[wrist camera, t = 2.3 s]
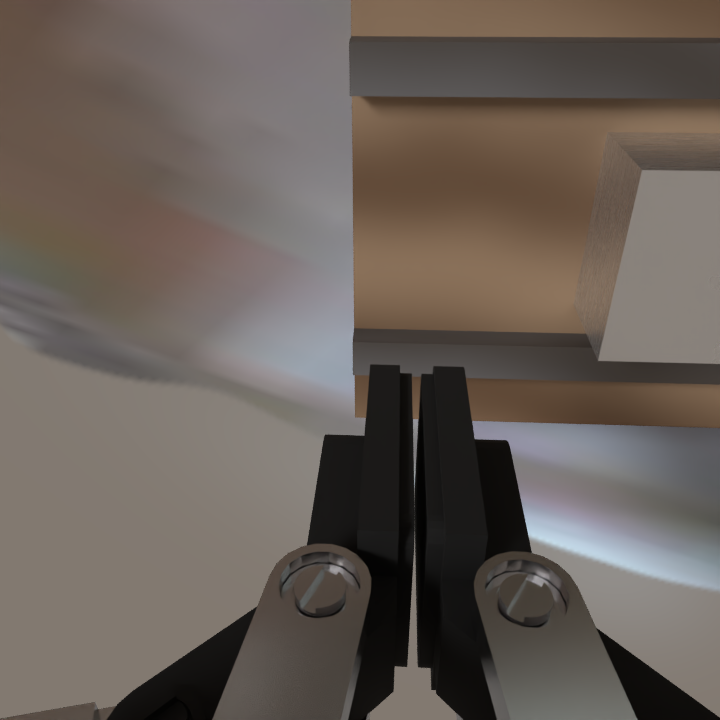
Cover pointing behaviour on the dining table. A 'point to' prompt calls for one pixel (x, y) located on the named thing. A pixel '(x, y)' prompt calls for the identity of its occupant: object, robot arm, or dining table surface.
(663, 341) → the chip
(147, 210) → the dining table surface
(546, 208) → the slot board
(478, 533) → the robot arm
